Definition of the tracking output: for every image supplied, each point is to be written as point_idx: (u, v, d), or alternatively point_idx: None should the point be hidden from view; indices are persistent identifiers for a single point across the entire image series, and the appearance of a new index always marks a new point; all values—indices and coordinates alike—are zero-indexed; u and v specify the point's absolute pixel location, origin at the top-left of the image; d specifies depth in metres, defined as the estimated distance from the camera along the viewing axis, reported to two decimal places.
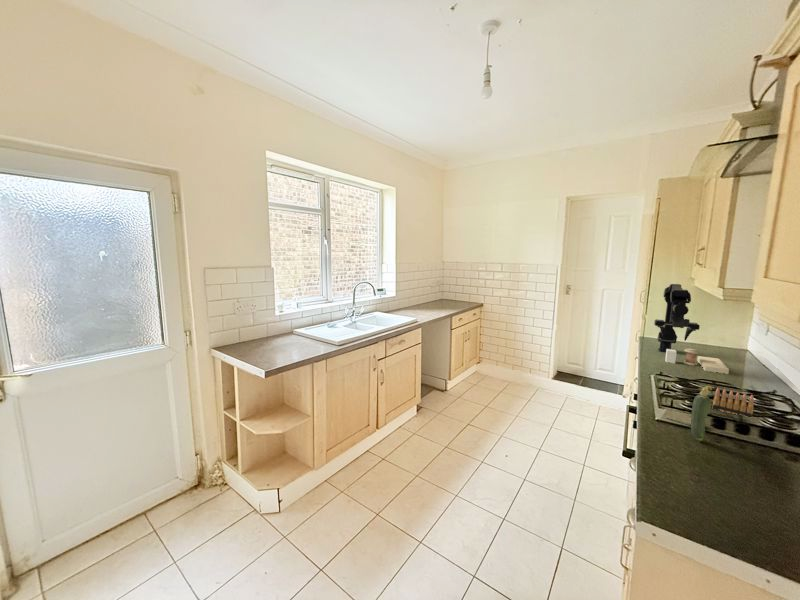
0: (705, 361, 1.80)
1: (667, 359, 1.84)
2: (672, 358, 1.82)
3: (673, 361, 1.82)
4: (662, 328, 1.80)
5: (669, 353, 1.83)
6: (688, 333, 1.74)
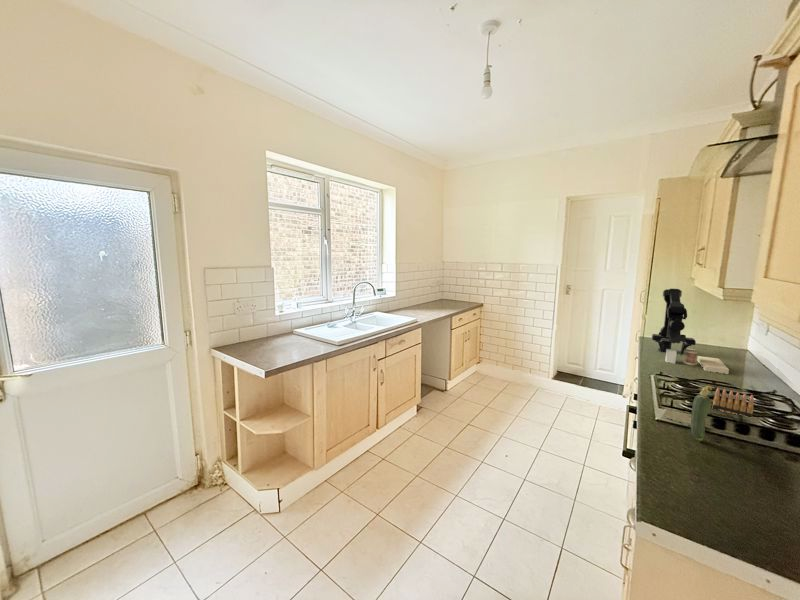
0: (705, 361, 1.80)
1: (667, 359, 1.84)
2: (672, 358, 1.82)
3: (673, 361, 1.82)
4: (660, 343, 1.84)
5: (669, 353, 1.83)
6: (684, 348, 1.79)
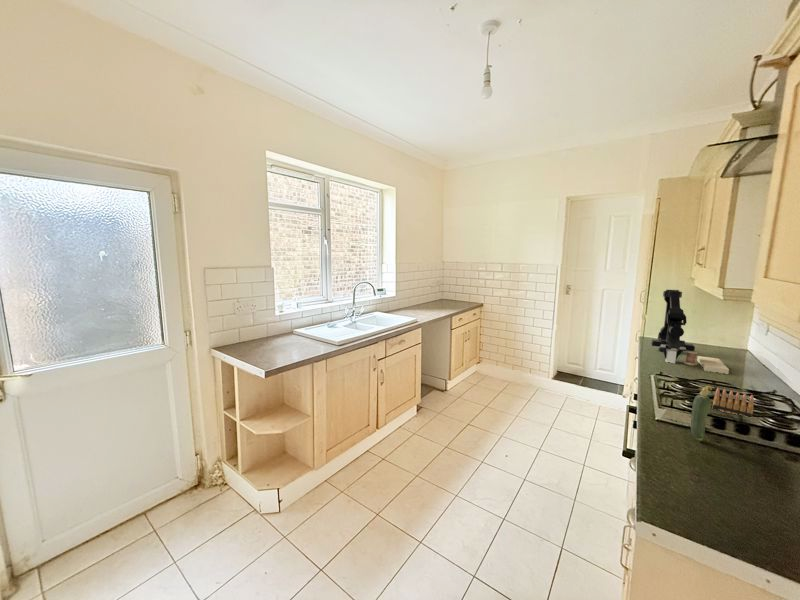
0: (705, 361, 1.80)
1: (667, 359, 1.84)
2: (672, 358, 1.82)
3: (673, 361, 1.82)
4: (664, 349, 1.84)
5: (669, 353, 1.83)
6: (678, 353, 1.81)
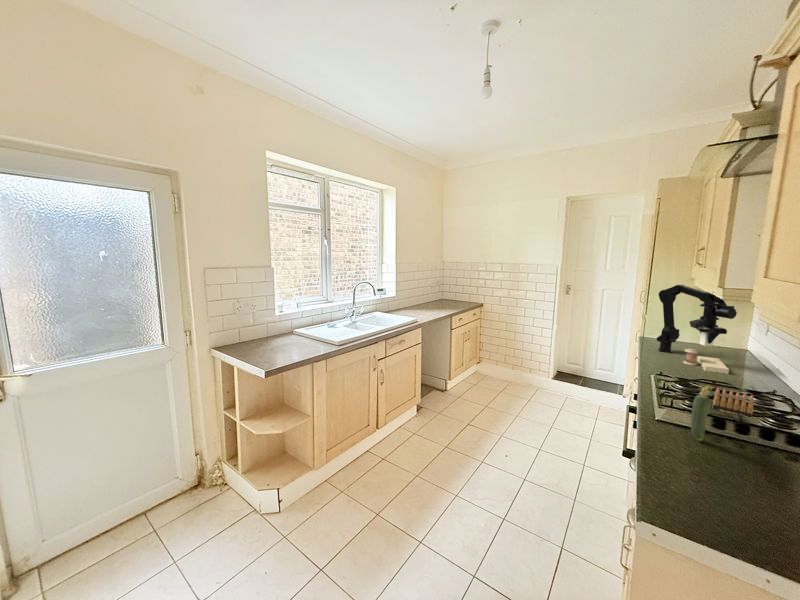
0: (705, 361, 1.80)
1: (700, 341, 1.82)
2: (703, 340, 1.80)
3: (703, 343, 1.80)
4: (699, 330, 1.83)
5: (702, 335, 1.81)
6: (708, 335, 1.77)
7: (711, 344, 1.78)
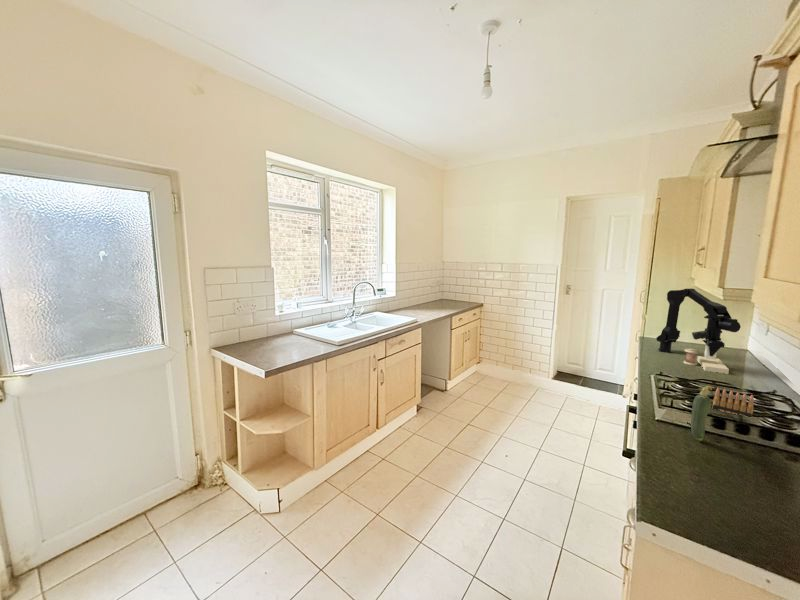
0: (705, 361, 1.80)
1: (704, 353, 1.79)
2: (705, 352, 1.77)
3: (705, 355, 1.76)
4: None
5: (705, 347, 1.77)
6: (709, 348, 1.74)
7: (713, 357, 1.74)
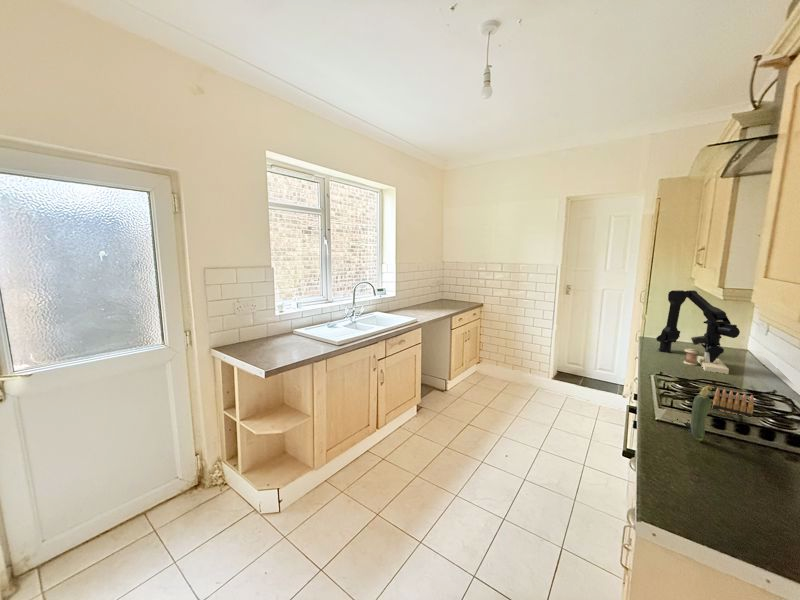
0: None
1: None
2: (704, 360, 1.77)
3: None
4: (703, 346, 1.81)
5: (704, 354, 1.78)
6: (709, 354, 1.73)
7: None
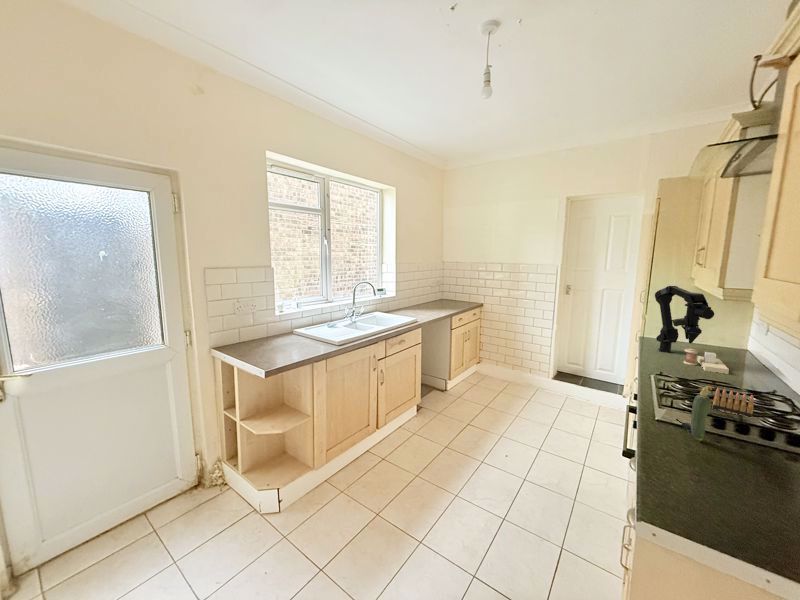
0: None
1: None
2: (704, 360, 1.77)
3: None
4: (683, 328, 1.91)
5: (704, 354, 1.78)
6: (688, 335, 1.81)
7: None
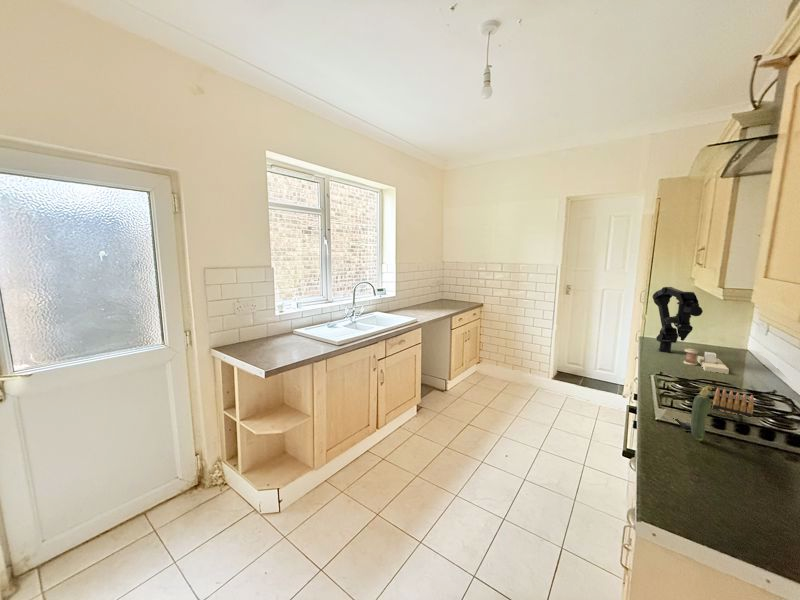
0: None
1: None
2: (704, 360, 1.77)
3: None
4: None
5: (704, 354, 1.78)
6: (680, 332, 1.85)
7: None
